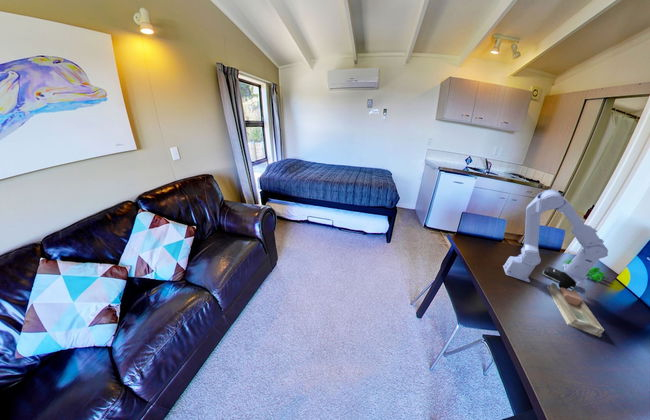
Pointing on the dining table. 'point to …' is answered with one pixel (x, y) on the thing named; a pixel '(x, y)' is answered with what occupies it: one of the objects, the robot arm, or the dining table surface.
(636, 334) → the dining table surface
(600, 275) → the green irregular lump
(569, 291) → the block
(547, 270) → the battery charger
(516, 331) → the dining table surface
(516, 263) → the robot arm
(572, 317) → the chute
